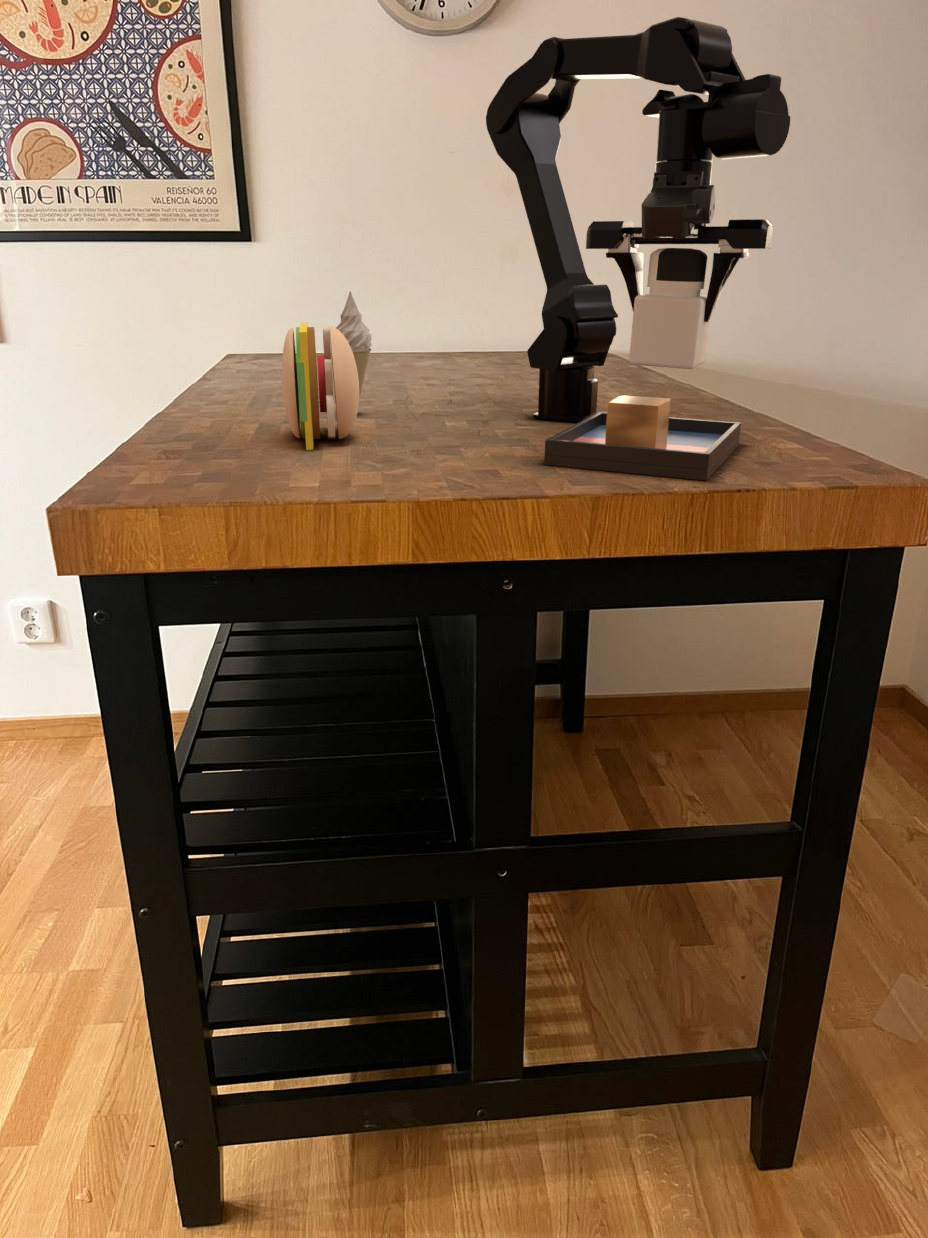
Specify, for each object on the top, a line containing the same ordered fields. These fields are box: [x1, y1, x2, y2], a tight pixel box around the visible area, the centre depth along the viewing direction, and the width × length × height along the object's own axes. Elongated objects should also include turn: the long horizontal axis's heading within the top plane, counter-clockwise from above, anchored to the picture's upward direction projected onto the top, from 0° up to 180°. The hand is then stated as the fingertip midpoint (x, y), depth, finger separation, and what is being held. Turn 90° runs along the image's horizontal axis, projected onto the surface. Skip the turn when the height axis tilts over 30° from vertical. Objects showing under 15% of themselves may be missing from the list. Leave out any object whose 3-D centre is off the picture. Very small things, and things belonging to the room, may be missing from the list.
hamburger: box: [281, 322, 360, 451], centre depth 102 cm, size 12×8×12 cm
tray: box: [543, 411, 742, 481], centre depth 96 cm, size 16×18×2 cm
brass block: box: [605, 394, 672, 449], centre depth 92 cm, size 5×5×5 cm
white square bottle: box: [628, 247, 711, 370], centre depth 101 cm, size 7×7×12 cm
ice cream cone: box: [335, 290, 373, 400], centre depth 116 cm, size 5×5×15 cm
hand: (671, 320), depth 102 cm, fingers closed on white square bottle, 7 cm apart
